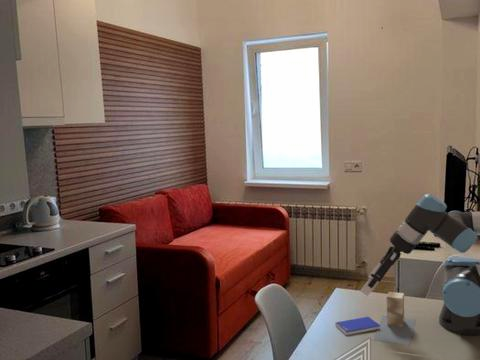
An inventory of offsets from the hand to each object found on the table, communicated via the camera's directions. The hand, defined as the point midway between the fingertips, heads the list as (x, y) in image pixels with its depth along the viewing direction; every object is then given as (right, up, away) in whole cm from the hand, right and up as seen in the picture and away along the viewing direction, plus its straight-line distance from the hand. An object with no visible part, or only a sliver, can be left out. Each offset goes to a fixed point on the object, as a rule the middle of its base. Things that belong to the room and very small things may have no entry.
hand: (367, 286), depth 157 cm
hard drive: (-3, -15, +3) cm, 16 cm away
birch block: (+11, -14, +5) cm, 18 cm away
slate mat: (+9, -15, 0) cm, 18 cm away
